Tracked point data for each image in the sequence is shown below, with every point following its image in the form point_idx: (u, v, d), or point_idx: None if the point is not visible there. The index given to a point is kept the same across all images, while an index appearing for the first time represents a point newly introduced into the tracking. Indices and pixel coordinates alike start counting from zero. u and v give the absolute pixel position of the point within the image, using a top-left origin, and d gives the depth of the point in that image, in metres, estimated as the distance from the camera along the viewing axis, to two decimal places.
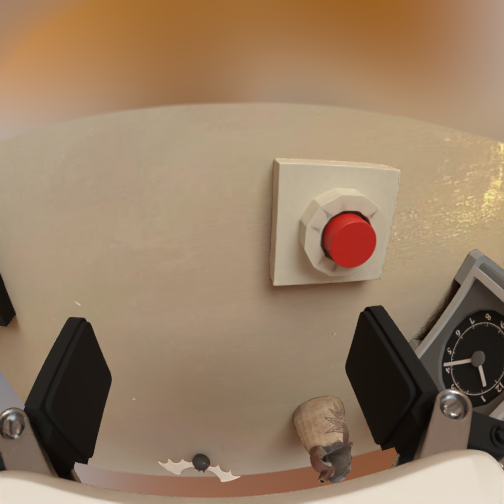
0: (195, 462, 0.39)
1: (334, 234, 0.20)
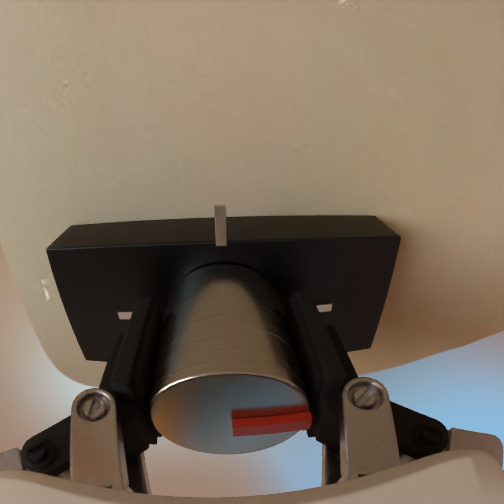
0: None
1: None
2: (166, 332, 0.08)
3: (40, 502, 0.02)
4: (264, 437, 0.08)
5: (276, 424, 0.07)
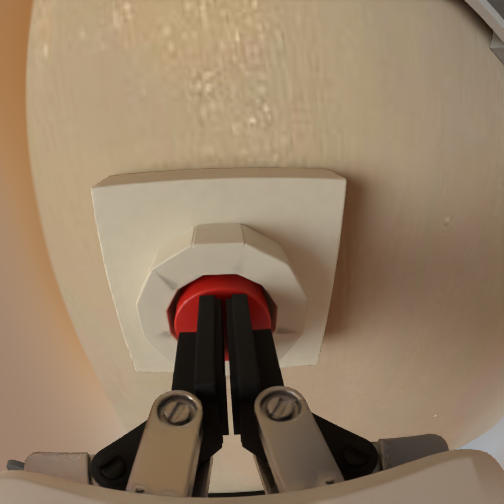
0: None
1: None
2: None
3: (40, 502, 0.02)
4: None
5: None
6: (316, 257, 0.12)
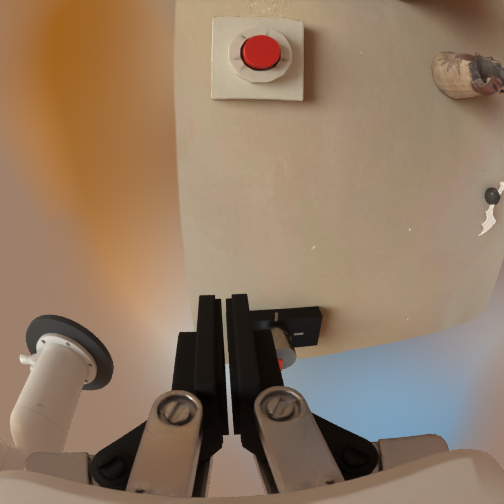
0: (490, 201, 0.38)
1: (253, 64, 0.25)
2: (288, 338, 0.40)
3: (40, 502, 0.02)
4: None
5: (282, 366, 0.39)
6: (295, 45, 0.27)
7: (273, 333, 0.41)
